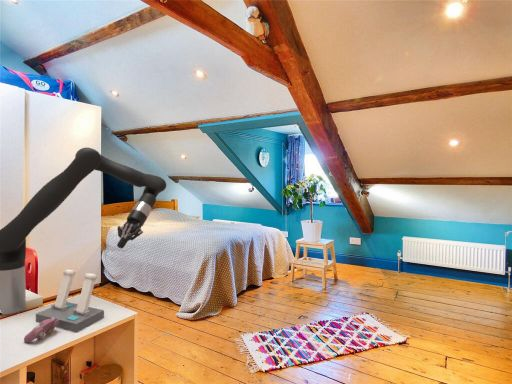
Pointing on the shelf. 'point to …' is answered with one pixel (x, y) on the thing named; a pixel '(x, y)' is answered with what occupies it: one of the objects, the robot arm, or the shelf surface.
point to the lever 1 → (64, 288)
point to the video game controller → (42, 329)
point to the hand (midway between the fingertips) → (119, 247)
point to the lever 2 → (86, 293)
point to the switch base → (71, 316)
